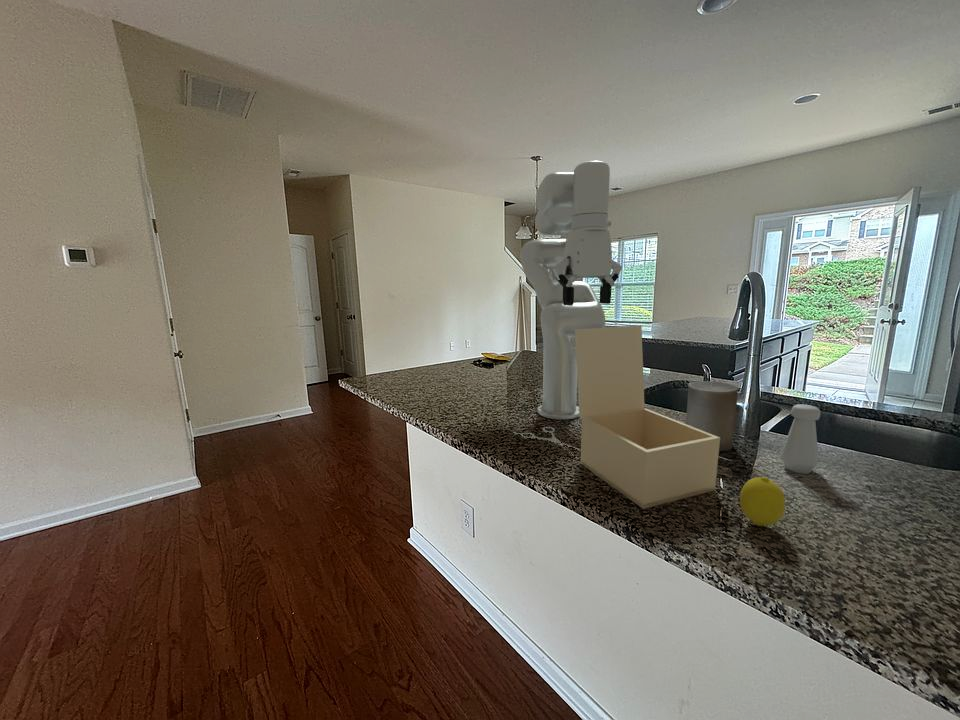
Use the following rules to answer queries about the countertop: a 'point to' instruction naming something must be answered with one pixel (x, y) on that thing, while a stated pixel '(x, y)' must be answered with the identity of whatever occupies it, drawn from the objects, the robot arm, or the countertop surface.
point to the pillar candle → (713, 410)
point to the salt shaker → (802, 440)
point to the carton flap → (609, 370)
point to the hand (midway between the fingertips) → (586, 304)
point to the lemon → (762, 501)
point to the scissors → (547, 438)
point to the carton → (649, 456)
